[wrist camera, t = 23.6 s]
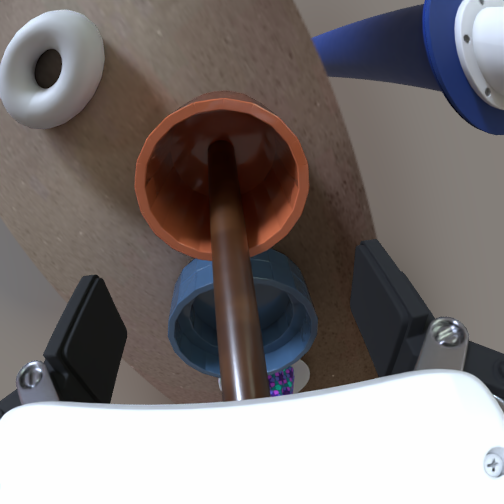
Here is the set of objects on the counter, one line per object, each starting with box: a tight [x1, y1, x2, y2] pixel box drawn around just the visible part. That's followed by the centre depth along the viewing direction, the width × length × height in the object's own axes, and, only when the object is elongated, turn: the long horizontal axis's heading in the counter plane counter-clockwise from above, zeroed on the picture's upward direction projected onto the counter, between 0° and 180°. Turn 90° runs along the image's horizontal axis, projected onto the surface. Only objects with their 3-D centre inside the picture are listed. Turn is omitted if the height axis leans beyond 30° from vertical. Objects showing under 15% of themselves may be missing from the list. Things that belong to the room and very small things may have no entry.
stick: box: [208, 140, 271, 402], centre depth 17 cm, size 2×2×18 cm
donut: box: [0, 10, 105, 129], centre depth 17 cm, size 10×4×10 cm
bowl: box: [168, 248, 318, 378], centre depth 29 cm, size 13×13×6 cm
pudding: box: [219, 359, 310, 397], centre depth 37 cm, size 12×12×5 cm
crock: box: [135, 91, 309, 261], centre depth 20 cm, size 9×9×9 cm
